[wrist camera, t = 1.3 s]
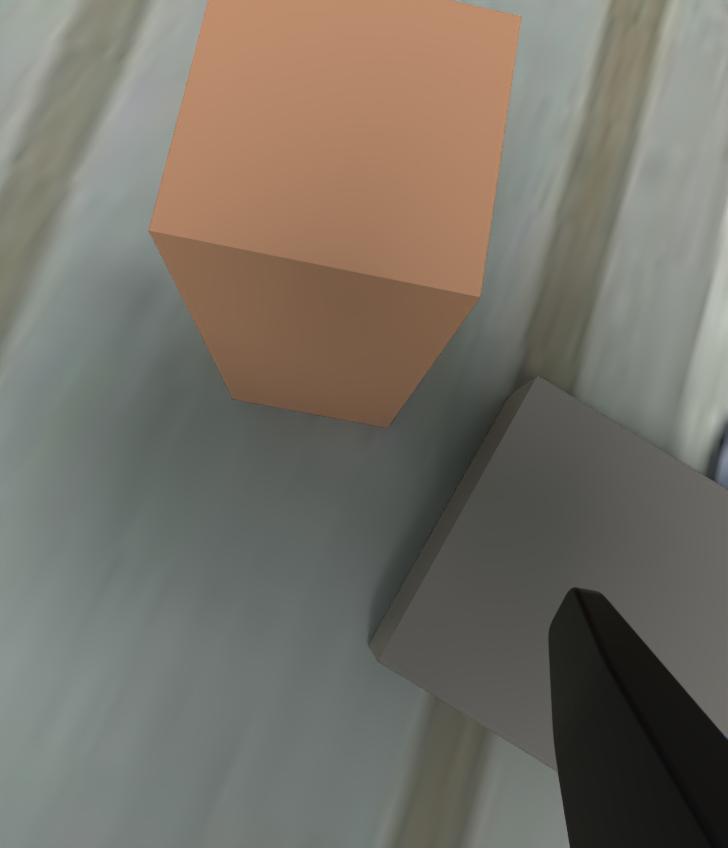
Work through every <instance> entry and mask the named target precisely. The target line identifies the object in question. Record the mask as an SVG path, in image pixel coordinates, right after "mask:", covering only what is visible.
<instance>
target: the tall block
mask: <svg viewBox="0 0 728 848" xmlns="http://www.w3.org/2000/svg"><path fill="white" fill-rule="evenodd" d="M521 17H522V16H517V15H513V14H508V13H504V12H500V11H495V10H491V9H486V8H482V7H477V6H473V5H469V4H464V3H460V2H455V1H451V0H208V3H207V7H206V10H205V14H204V18H203V22H202V26H201V30H200V34H199V37H198V41H197V45H196V49H195V53H194V57H193V61H192V65H191V68H190V72H189V76H188V80H187V84H186V88H185V92H184V96H183V99H182V103H181V107H180V111H179V115H178V119H177V123H176V126H175V130H174V134H173V138H172V142H171V146H170V150H169V154H168V157H167V161H166V165H165V169H164V173H163V177H162V181H161V184H160V188H159V192H158V196H157V200H156V204H155V208H154V212H153V215H152V219H151V223H150V227H149V232H150V234H151V236H152V238H153V240H154V242H155V244H156V246H157V248H158V250H159V252H160V254H161V256H162V258H163V260H164V262H165V264H166V266H167V268H168V270H169V272H170V274H171V276H172V278H173V280H174V282H175V284H176V286H177V288H178V290H179V292H180V294H181V296H182V298H183V300H184V302H185V304H186V306H187V308H188V310H189V312H190V314H191V316H192V318H193V320H194V322H195V324H196V326H197V328H198V330H199V332H200V334H201V336H202V338H203V340H204V342H205V344H206V346H207V348H208V350H209V352H210V354H211V356H212V358H213V360H214V362H215V364H216V366H217V368H218V370H219V372H220V374H221V376H222V378H223V380H224V382H225V384H226V386H227V388H228V390H229V392H230V394H231V396H232V398H233V399H235V400H240V401H245V402H251V403H256V404H261V405H267V406H272V407H277V408H283V409H288V410H293V411H299V412H304V413H309V414H315V415H320V416H325V417H331V418H336V419H341V420H347V421H352V422H357V423H363V424H368V425H373V426H378V427H384V428H388V427H389V425H390V424H391V422H392V421H393V420H394V418H395V417H396V415H397V414H398V412H399V411H400V410H401V408H402V407H403V405H404V404H405V403H406V401H407V400H408V398H409V397H410V396H411V394H412V393H413V391H414V390H415V389H416V387H417V386H418V384H419V383H420V381H421V380H422V379H423V377H424V376H425V374H426V373H427V372H428V370H429V369H430V367H431V366H432V365H433V363H434V362H435V360H436V359H437V358H438V356H439V355H440V353H441V352H442V351H443V349H444V348H445V346H446V345H447V343H448V342H449V341H450V339H451V338H452V336H453V335H454V334H455V332H456V331H457V329H458V328H459V327H460V325H461V324H462V322H463V321H464V320H465V318H466V317H467V315H468V314H469V312H470V311H471V310H472V308H473V307H474V305H475V304H476V303H477V301H478V300H479V298H480V297H481V290H482V283H483V276H484V269H485V263H486V256H487V249H488V242H489V235H490V228H491V222H492V215H493V208H494V201H495V194H496V188H497V181H498V174H499V167H500V160H501V154H502V147H503V140H504V133H505V126H506V120H507V113H508V106H509V99H510V92H511V85H512V79H513V72H514V65H515V58H516V51H517V45H518V38H519V31H520V24H521Z"/></svg>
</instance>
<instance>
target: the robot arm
mask: <svg viewBox="0 0 728 848" xmlns="http://www.w3.org/2000/svg"><path fill="white" fill-rule="evenodd" d="M548 648H549V668H550V688H551V708H552V727H553V741H554V749H555V756H556V763H557V770H558V776H559V782H560V788H561V795H562V801H563V807H564V813H565V820H566V826H567V832H568V838H569V845H570V848H728V739H727V738H726V736H725V735H724V734H723V733H722V732H721V731H720V730H719V728H718V727H717V726H716V725H715V724H714V723H713V721H712V720H711V719H710V718H709V717H708V716H707V714H706V713H705V712H704V711H703V710H702V709H701V707H700V706H699V705H698V704H697V703H696V702H695V700H694V699H693V698H692V697H691V696H690V695H689V693H688V692H687V691H686V690H685V689H684V688H683V686H682V685H681V684H680V683H679V682H678V681H677V679H676V678H675V677H674V676H673V675H672V674H671V672H670V671H669V670H668V669H667V668H666V667H665V665H664V664H663V663H662V662H661V661H660V660H659V658H658V657H657V656H656V655H655V654H654V653H653V651H652V650H651V649H650V648H649V647H648V646H647V644H646V643H645V642H644V641H643V640H642V639H641V637H640V636H639V635H638V634H637V633H636V632H635V630H634V629H633V628H632V627H631V626H630V625H629V624H628V622H627V621H626V620H625V619H624V618H623V617H622V615H621V614H620V613H619V612H618V611H617V610H616V608H615V607H614V606H613V605H612V604H611V603H610V601H609V600H608V599H607V598H606V597H605V596H604V595H603V594H602V593H601V592H599V591H595V590H590V589H584V588H579V587H573V588H571V589H570V590H569V591H568V592H567V594H566V595H565V597H564V599H563V601H562V603H561V605H560V607H559V608H558V610H557V612H556V614H555V616H554V618H553V620H552V622H551V624H550V627H549V632H548Z"/></svg>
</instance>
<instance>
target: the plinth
mask: <svg viewBox="0 0 728 848" xmlns="http://www.w3.org/2000/svg"><path fill="white" fill-rule="evenodd" d="M573 587H579V588H584V589H590V590H595V591H599V592H601V593H602V594H603V595H604V596H605V597H606V598H607V599H608V600H609V601H610V603H611V604H612V605H613V606H614V607H615V608H616V610H617V611H618V612H619V613H620V614H621V615H622V617H623V618H624V619H625V620H626V621H627V622H628V624H629V625H630V626H631V627H632V628H633V629H634V630H635V632H636V633H637V634H638V635H639V636H640V637H641V639H642V640H643V641H644V642H645V643H646V644H647V646H648V647H649V648H650V649H651V650H652V651H653V653H654V654H655V655H656V656H657V657H658V658H659V660H660V661H661V662H662V663H663V664H664V665H665V667H666V668H667V669H668V670H669V671H670V672H671V674H672V675H673V676H674V677H675V678H676V679H677V681H678V682H679V683H680V684H681V685H682V686H683V688H684V689H685V690H686V691H687V692H688V693H689V695H690V696H691V697H692V698H693V699H694V700H695V702H696V703H697V704H698V705H699V706H700V707H701V709H702V710H703V711H704V712H705V713H706V714H707V716H708V717H709V718H710V719H711V720H712V721H713V723H714V724H715V725H716V726H717V727H718V728H719V730H720V731H721V732H722V733H723V734H724V735H725V736H726V735H727V733H728V490H727V489H726V488H724V487H722V486H721V485H719V484H717V483H716V482H714V481H712V480H711V479H709V478H707V477H706V476H704V475H702V474H701V473H699V472H697V471H696V470H694V469H692V468H691V467H689V466H687V465H686V464H684V463H682V462H681V461H679V460H677V459H676V458H674V457H672V456H671V455H669V454H667V453H666V452H664V451H662V450H661V449H659V448H657V447H656V446H654V445H652V444H651V443H649V442H647V441H646V440H644V439H642V438H641V437H639V436H637V435H636V434H634V433H632V432H631V431H629V430H628V429H626V428H624V427H623V426H621V425H619V424H618V423H616V422H614V421H613V420H611V419H609V418H608V417H606V416H604V415H603V414H601V413H599V412H598V411H596V410H594V409H593V408H591V407H589V406H588V405H586V404H584V403H583V402H581V401H579V400H578V399H576V398H574V397H573V396H571V395H569V394H568V393H566V392H564V391H563V390H561V389H559V388H558V387H556V386H554V385H553V384H551V383H549V382H548V381H546V380H544V379H543V378H541V377H539V376H538V375H537V376H536V377H535V378H533V379H532V380H530V381H529V382H528V383H526V384H525V385H524V386H522V387H521V388H519V389H518V390H517V391H515V392H514V393H513V394H511V395H510V396H509V397H508V398H507V400H506V402H505V404H504V405H503V407H502V409H501V411H500V412H499V414H498V416H497V418H496V420H495V421H494V423H493V425H492V427H491V428H490V430H489V432H488V434H487V436H486V437H485V439H484V441H483V443H482V444H481V446H480V448H479V450H478V451H477V453H476V455H475V457H474V459H473V460H472V462H471V464H470V466H469V467H468V469H467V471H466V473H465V475H464V476H463V478H462V480H461V482H460V483H459V485H458V487H457V489H456V490H455V492H454V494H453V496H452V498H451V499H450V501H449V503H448V505H447V506H446V508H445V510H444V512H443V513H442V515H441V517H440V519H439V521H438V522H437V524H436V526H435V528H434V529H433V531H432V533H431V535H430V537H429V538H428V540H427V542H426V544H425V545H424V547H423V549H422V551H421V552H420V554H419V556H418V558H417V560H416V561H415V563H414V565H413V567H412V568H411V570H410V572H409V574H408V576H407V577H406V579H405V581H404V583H403V584H402V586H401V588H400V590H399V591H398V593H397V595H396V597H395V599H394V600H393V602H392V604H391V606H390V607H389V609H388V611H387V613H386V615H385V616H384V618H383V620H382V622H381V623H380V625H379V627H378V629H377V630H376V632H375V634H374V636H373V638H372V639H371V641H370V643H369V645H368V646H369V648H370V649H371V651H372V653H373V654H374V656H375V657H376V659H377V661H378V662H380V663H381V664H383V665H385V666H386V667H388V668H389V669H391V670H393V671H394V672H396V673H398V674H399V675H401V676H403V677H404V678H406V679H407V680H409V681H411V682H412V683H414V684H416V685H417V686H419V687H420V688H422V689H424V690H425V691H427V692H429V693H430V694H432V695H433V696H435V697H437V698H438V699H440V700H442V701H443V702H445V703H446V704H448V705H450V706H451V707H453V708H455V709H456V710H458V711H460V712H461V713H463V714H464V715H466V716H468V717H469V718H471V719H473V720H474V721H476V722H477V723H479V724H481V725H482V726H484V727H486V728H487V729H489V730H490V731H492V732H494V733H495V734H497V735H499V736H500V737H502V738H503V739H505V740H507V741H508V742H510V743H512V744H513V745H515V746H517V747H518V748H520V749H521V750H523V751H525V752H526V753H528V754H530V755H531V756H533V757H534V758H536V759H538V760H539V761H541V762H543V763H544V764H546V765H547V766H549V767H551V768H552V769H554V770H556V771H557V772H558V770H557V763H556V756H555V749H554V741H553V727H552V708H551V688H550V668H549V648H548V632H549V627H550V624H551V622H552V620H553V618H554V616H555V614H556V612H557V610H558V608H559V607H560V605H561V603H562V601H563V599H564V597H565V595H566V594H567V592H568V591H569V590H570V589H571V588H573Z"/></svg>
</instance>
